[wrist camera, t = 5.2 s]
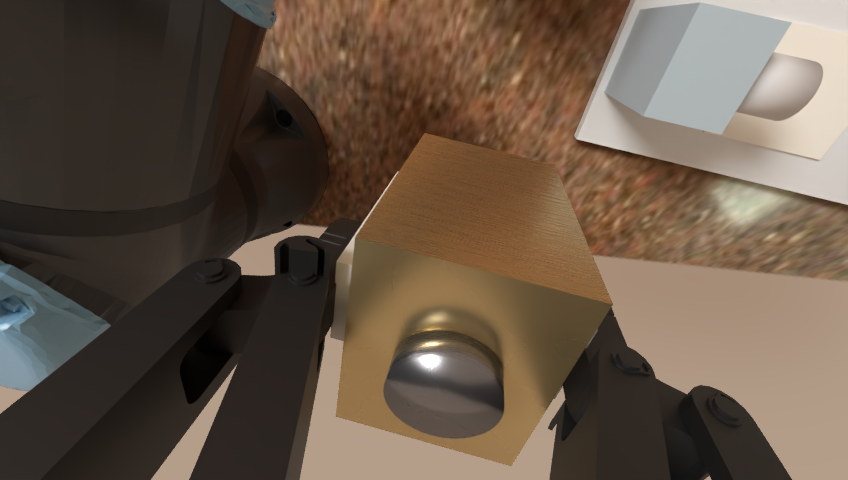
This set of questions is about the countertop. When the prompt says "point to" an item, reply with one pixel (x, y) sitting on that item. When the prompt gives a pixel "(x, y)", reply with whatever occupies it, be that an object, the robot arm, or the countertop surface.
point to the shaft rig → (731, 90)
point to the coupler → (467, 300)
